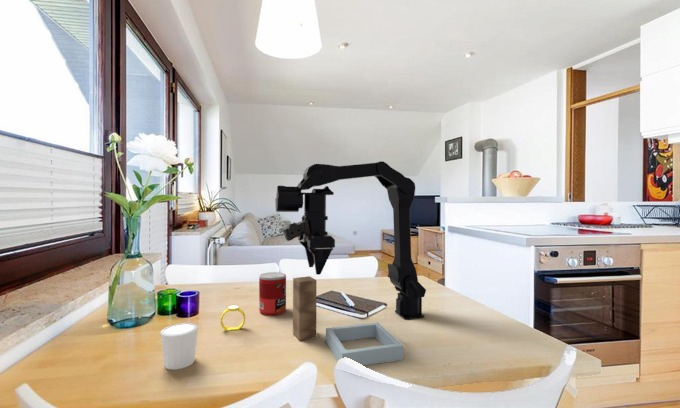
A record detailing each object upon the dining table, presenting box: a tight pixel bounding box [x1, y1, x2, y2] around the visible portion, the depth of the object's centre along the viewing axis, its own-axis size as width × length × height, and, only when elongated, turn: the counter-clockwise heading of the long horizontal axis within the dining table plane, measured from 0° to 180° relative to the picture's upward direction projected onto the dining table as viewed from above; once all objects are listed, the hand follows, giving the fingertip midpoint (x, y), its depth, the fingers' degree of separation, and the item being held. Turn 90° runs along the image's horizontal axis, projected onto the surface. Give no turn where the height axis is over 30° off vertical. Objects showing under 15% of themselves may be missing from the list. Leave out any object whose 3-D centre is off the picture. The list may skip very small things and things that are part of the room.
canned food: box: [258, 271, 287, 316], centre depth 98 cm, size 8×8×11 cm
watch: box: [220, 304, 246, 332], centre depth 85 cm, size 6×3×6 cm, turn 107°
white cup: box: [160, 322, 199, 370], centre depth 67 cm, size 7×7×7 cm
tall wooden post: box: [292, 275, 317, 342], centre depth 81 cm, size 4×4×14 cm
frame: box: [325, 322, 404, 366], centre depth 73 cm, size 13×13×3 cm
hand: (314, 270), depth 87 cm, fingers open, 9 cm apart
